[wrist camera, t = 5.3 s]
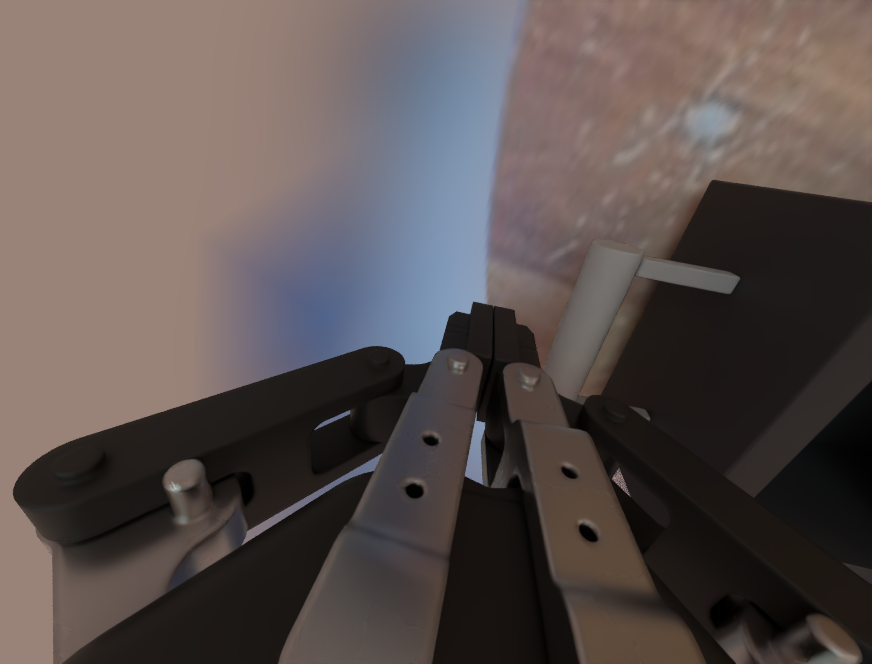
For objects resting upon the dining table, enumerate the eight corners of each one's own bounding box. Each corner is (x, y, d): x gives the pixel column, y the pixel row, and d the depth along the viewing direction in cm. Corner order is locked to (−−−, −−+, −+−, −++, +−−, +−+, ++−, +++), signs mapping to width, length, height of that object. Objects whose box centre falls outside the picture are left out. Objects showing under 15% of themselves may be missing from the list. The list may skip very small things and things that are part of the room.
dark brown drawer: (511, 388, 19) (521, 525, 12) (590, 158, 13) (693, 169, 6) (852, 461, 18) (1077, 658, 11) (1099, 246, 12) (1900, 376, 5)
